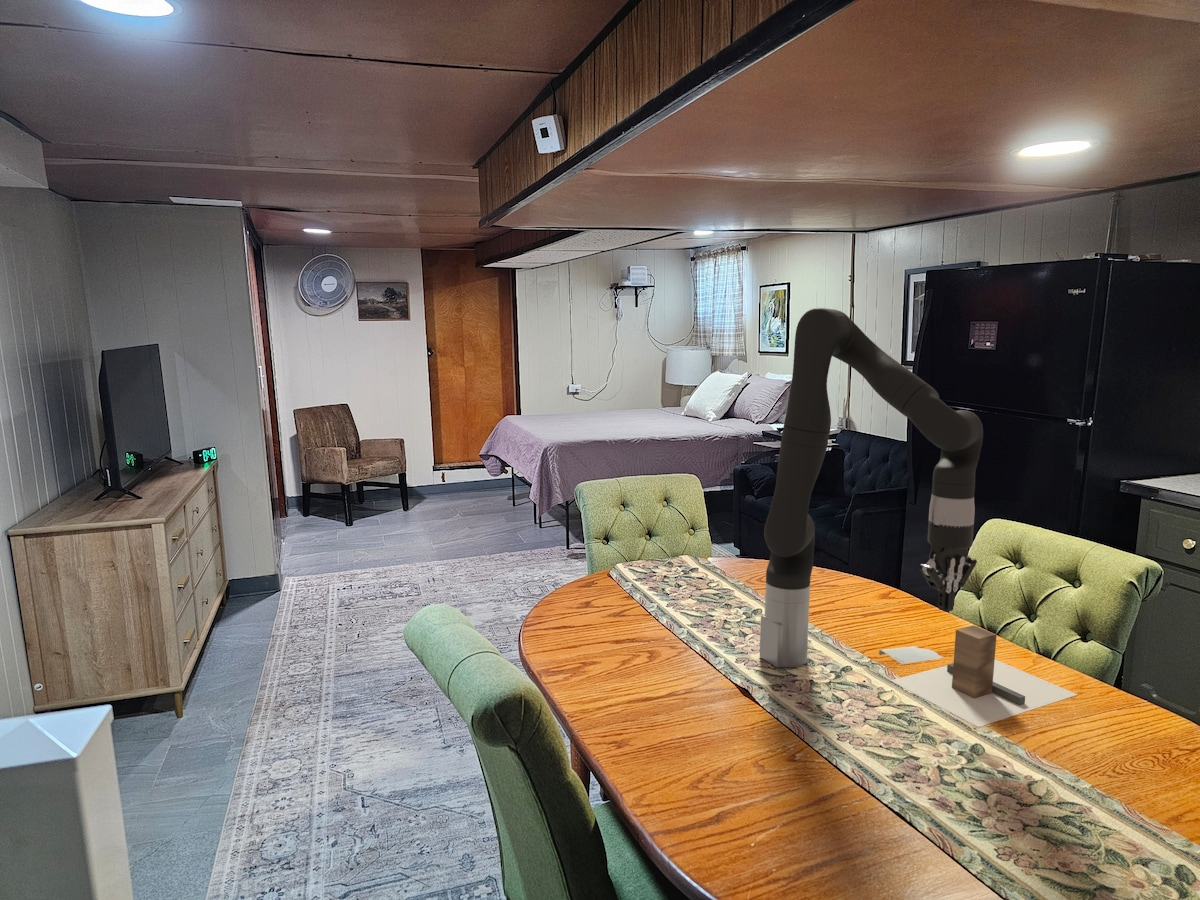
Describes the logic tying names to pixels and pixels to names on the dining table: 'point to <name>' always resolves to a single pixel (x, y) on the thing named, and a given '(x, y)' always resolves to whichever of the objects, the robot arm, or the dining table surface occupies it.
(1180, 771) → the dining table surface
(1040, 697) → the grey board
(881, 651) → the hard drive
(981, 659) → the walnut block
